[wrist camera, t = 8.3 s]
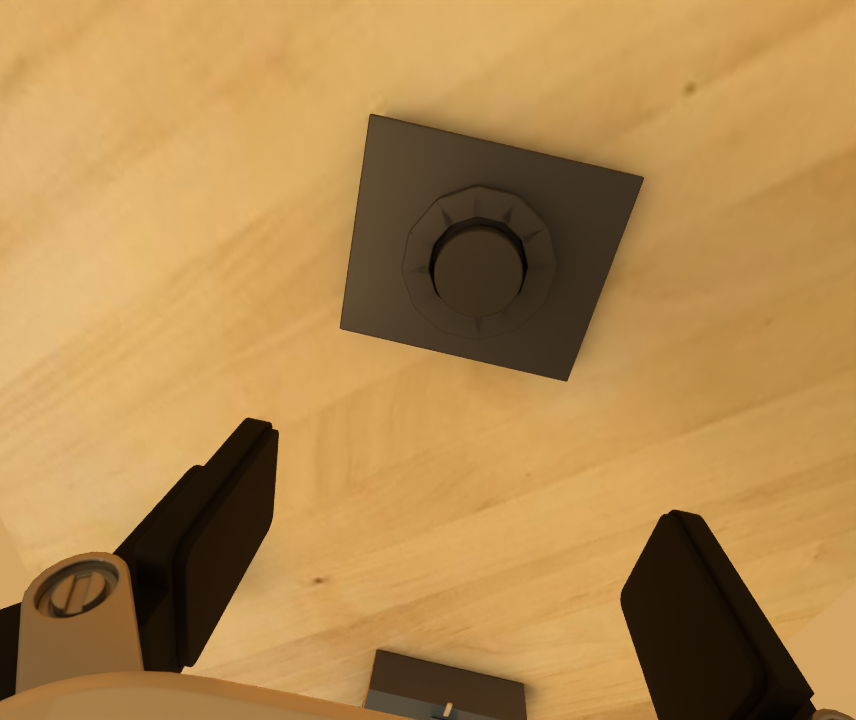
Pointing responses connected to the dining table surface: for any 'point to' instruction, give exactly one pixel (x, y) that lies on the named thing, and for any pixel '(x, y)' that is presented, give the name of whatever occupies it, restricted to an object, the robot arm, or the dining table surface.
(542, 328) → the button block
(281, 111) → the dining table surface
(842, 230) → the dining table surface
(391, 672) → the rotary switch base
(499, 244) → the button
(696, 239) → the dining table surface
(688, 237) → the dining table surface
